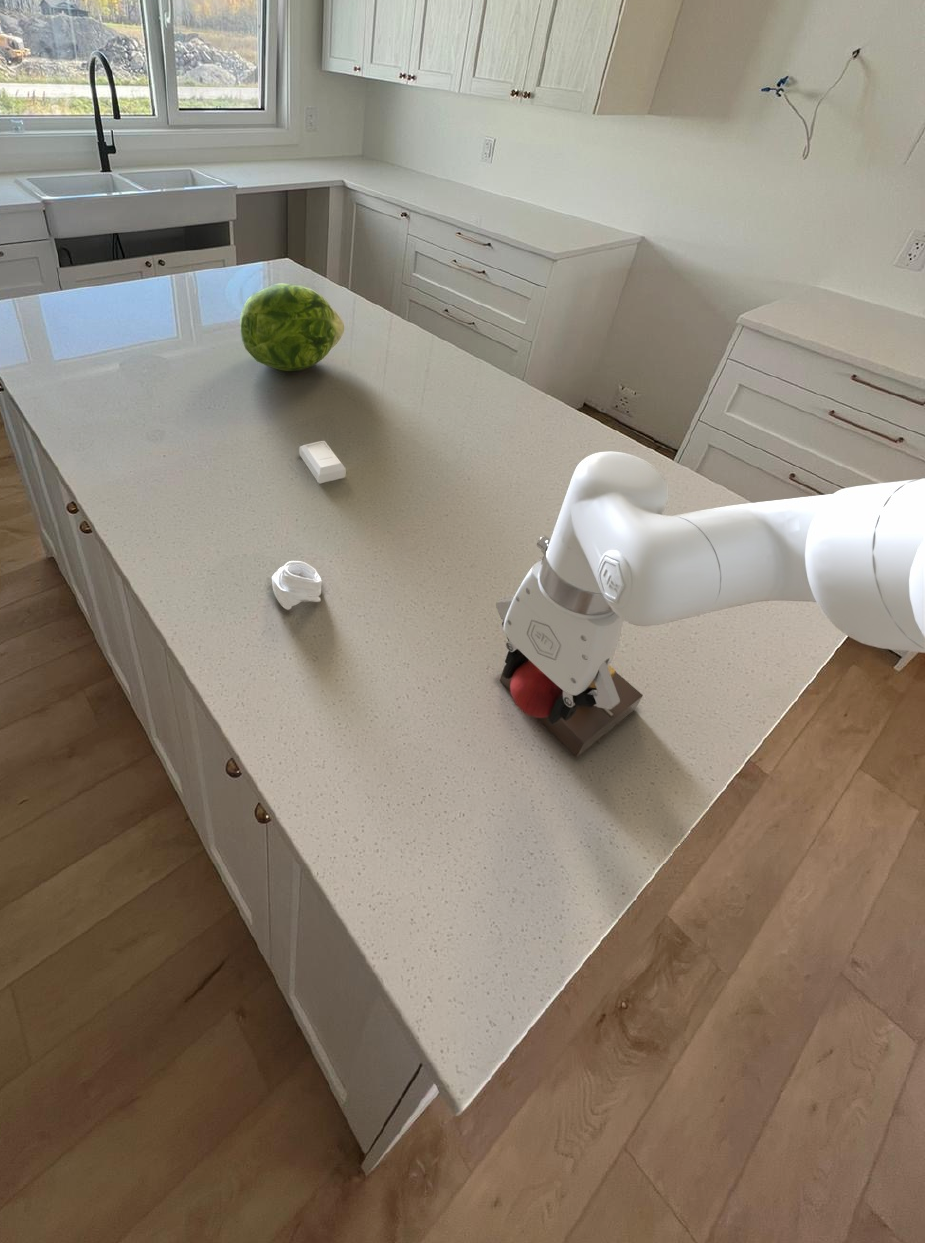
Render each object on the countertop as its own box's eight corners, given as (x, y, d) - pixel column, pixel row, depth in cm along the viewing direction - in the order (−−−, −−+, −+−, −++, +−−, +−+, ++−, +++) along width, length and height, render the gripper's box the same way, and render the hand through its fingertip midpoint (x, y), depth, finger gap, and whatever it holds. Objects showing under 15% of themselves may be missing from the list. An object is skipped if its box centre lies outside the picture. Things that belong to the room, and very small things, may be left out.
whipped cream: (264, 585, 89) (259, 560, 86) (305, 565, 92) (302, 541, 89) (289, 621, 84) (285, 595, 81) (333, 599, 86) (330, 574, 84)
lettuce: (356, 375, 140) (365, 292, 132) (260, 383, 128) (264, 292, 120) (314, 352, 154) (320, 275, 146) (223, 357, 142) (224, 274, 134)
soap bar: (318, 483, 107) (319, 471, 106) (299, 455, 114) (299, 442, 112) (345, 477, 109) (346, 465, 108) (324, 449, 115) (325, 437, 114)
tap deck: (635, 709, 76) (644, 694, 74) (575, 758, 71) (583, 742, 69) (558, 641, 84) (564, 626, 82) (498, 680, 78) (504, 665, 76)
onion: (552, 689, 73) (571, 645, 68) (560, 735, 68) (581, 691, 63) (501, 683, 73) (517, 638, 68) (506, 728, 68) (523, 684, 64)
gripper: (487, 537, 61) (457, 653, 72) (638, 661, 51) (576, 775, 62) (539, 512, 65) (502, 626, 76) (690, 622, 54) (622, 737, 65)
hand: (536, 692), depth 69 cm, fingers closed on onion, 5 cm apart
